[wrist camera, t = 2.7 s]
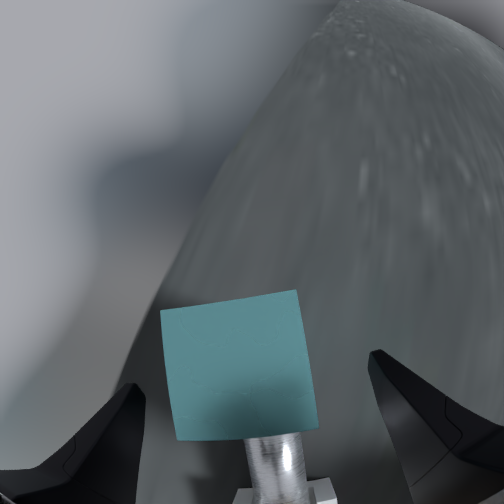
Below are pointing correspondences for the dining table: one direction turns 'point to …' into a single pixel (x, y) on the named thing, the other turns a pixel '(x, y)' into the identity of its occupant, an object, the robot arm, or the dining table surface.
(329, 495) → the white notched block
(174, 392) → the teal and silver mallet
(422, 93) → the dining table surface
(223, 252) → the dining table surface
